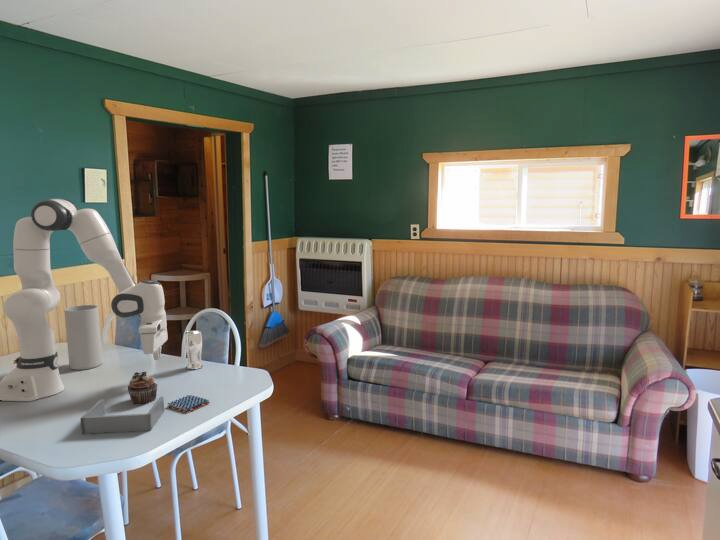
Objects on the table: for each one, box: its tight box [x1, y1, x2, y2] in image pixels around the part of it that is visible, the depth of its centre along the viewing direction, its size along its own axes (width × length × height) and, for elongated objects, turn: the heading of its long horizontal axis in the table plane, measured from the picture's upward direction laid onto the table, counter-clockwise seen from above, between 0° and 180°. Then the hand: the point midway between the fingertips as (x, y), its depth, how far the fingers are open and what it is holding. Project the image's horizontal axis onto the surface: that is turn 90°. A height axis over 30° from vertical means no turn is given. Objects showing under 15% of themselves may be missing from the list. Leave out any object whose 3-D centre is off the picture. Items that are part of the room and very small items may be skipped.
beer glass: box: [183, 330, 203, 370], centre depth 220 cm, size 7×7×15 cm
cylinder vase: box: [64, 304, 103, 371], centre depth 224 cm, size 12×12×25 cm
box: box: [80, 396, 165, 435], centre depth 167 cm, size 20×15×5 cm
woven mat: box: [166, 394, 211, 414], centre depth 180 cm, size 10×11×2 cm
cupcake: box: [127, 371, 158, 405], centre depth 185 cm, size 10×10×10 cm
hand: (157, 358), depth 201 cm, fingers closed
